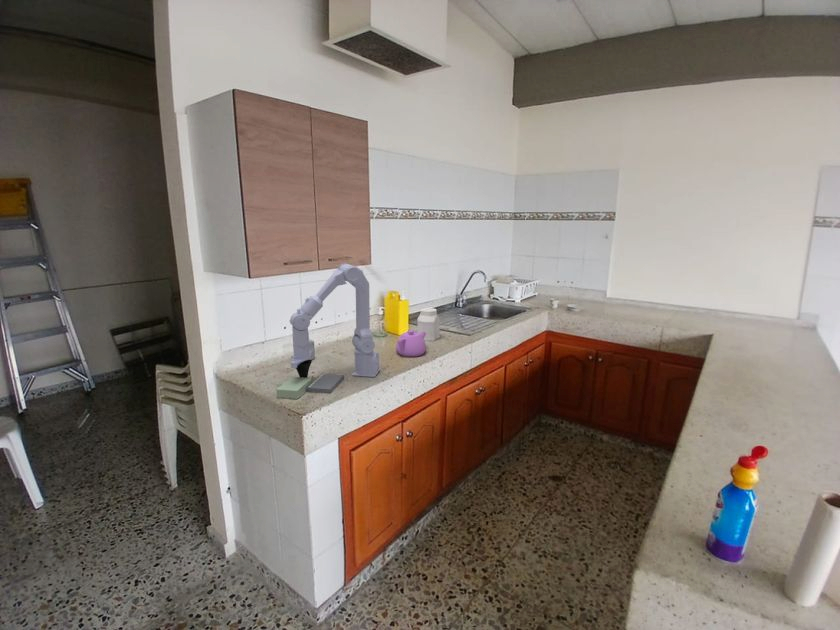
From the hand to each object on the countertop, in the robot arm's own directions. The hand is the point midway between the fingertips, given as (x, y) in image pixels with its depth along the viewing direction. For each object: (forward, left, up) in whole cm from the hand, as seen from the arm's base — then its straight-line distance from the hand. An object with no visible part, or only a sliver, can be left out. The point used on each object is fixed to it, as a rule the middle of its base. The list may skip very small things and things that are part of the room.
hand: (303, 379), depth 157 cm
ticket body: (-9, -1, -2) cm, 9 cm away
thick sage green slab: (0, +7, -2) cm, 7 cm away
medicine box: (+11, -25, -2) cm, 27 cm away
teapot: (-33, -44, -2) cm, 55 cm away
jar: (-37, -68, -2) cm, 77 cm away
